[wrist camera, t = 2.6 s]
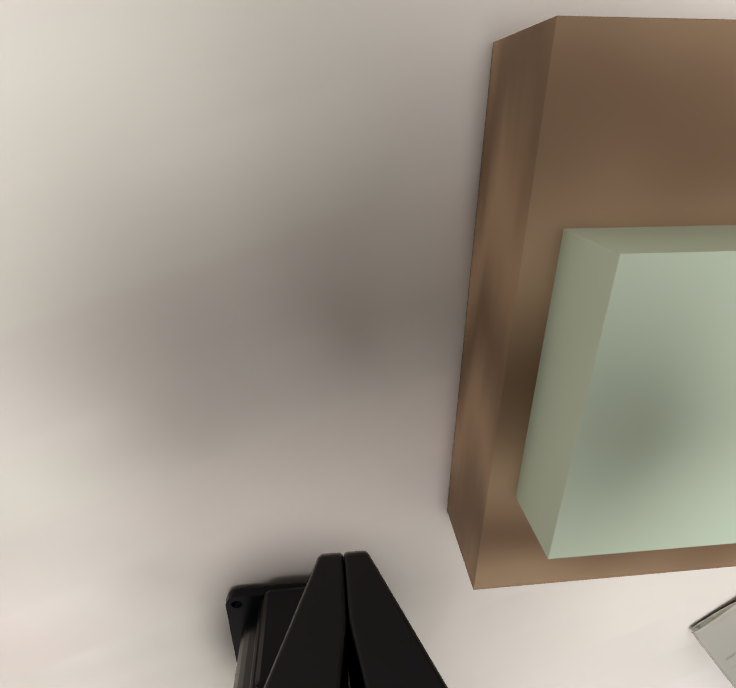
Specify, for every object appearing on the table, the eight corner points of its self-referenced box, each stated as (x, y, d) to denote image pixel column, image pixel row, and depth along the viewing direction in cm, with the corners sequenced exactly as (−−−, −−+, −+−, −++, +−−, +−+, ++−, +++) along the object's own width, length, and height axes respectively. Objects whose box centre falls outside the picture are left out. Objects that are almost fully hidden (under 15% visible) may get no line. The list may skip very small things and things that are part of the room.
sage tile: (681, 484, 16) (739, 542, 14) (515, 497, 16) (548, 559, 14) (779, 224, 13) (879, 247, 10) (563, 228, 12) (620, 254, 10)
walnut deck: (694, 492, 22) (766, 563, 19) (447, 510, 21) (473, 589, 18) (868, 48, 15) (1046, 26, 11) (493, 42, 14) (556, 15, 10)
